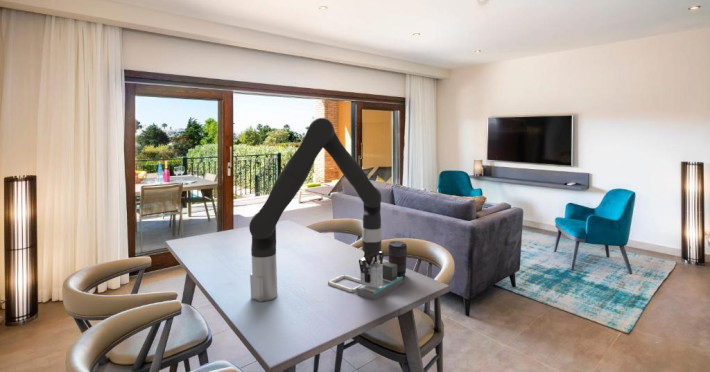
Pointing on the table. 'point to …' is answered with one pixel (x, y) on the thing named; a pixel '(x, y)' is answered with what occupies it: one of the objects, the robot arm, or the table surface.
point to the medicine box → (374, 276)
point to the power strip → (388, 283)
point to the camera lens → (398, 256)
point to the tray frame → (344, 286)
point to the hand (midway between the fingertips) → (371, 280)
